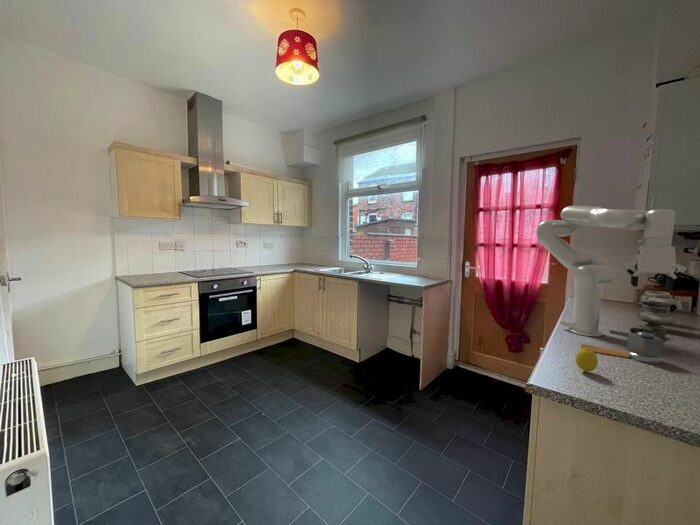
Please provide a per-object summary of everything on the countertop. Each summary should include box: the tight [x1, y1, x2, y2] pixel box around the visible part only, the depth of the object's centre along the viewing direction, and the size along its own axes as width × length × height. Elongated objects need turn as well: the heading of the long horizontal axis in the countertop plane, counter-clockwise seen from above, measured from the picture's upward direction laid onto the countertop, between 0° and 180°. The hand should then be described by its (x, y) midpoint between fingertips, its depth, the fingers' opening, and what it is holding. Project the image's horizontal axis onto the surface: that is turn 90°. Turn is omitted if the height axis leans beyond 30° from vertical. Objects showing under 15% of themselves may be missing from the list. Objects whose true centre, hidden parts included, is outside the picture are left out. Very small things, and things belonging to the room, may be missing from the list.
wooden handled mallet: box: [579, 343, 663, 365], centre depth 110 cm, size 22×9×5 cm, turn 57°
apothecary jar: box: [637, 290, 676, 333], centre depth 142 cm, size 12×12×18 cm
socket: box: [626, 332, 664, 358], centre depth 106 cm, size 6×6×8 cm
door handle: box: [609, 327, 667, 339], centre depth 131 cm, size 3×20×16 cm
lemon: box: [575, 348, 599, 373], centre depth 95 cm, size 6×6×8 cm
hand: (651, 287), depth 112 cm, fingers open, 9 cm apart
